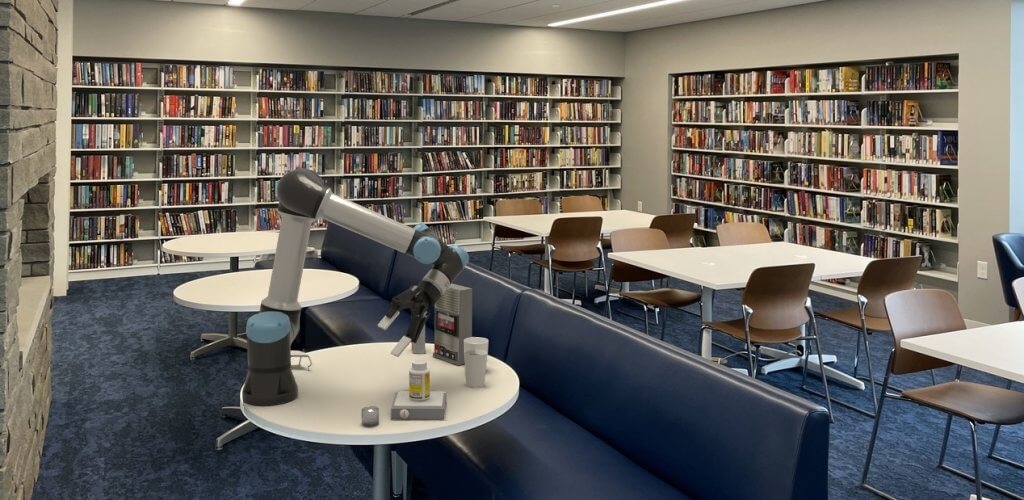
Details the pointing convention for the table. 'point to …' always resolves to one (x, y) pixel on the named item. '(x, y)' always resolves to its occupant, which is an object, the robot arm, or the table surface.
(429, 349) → the table surface
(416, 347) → the skincare box
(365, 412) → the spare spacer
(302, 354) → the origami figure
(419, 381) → the supplement bottle
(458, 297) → the cassette tape recorder
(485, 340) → the white cup
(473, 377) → the drinking glass
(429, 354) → the table surface
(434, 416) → the scale
